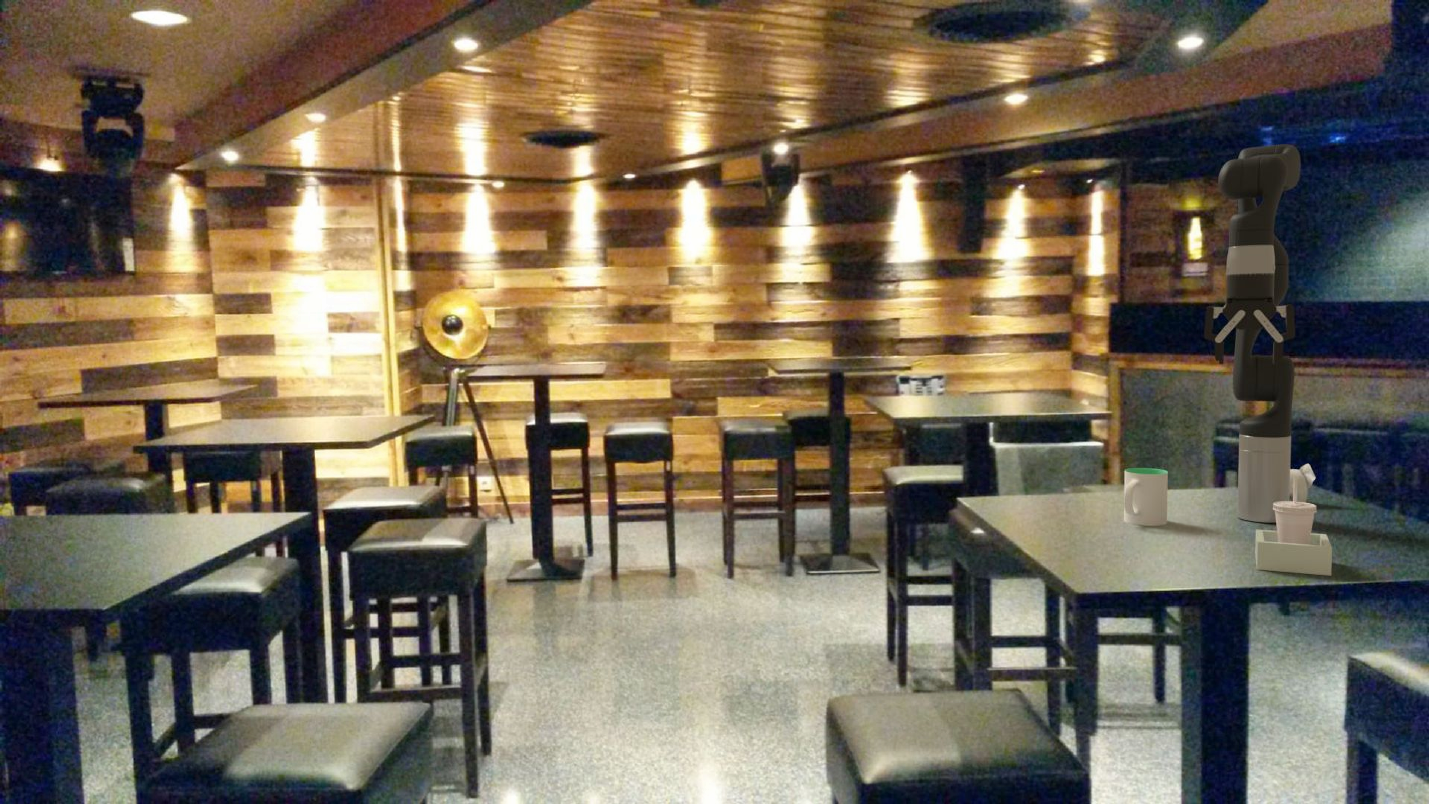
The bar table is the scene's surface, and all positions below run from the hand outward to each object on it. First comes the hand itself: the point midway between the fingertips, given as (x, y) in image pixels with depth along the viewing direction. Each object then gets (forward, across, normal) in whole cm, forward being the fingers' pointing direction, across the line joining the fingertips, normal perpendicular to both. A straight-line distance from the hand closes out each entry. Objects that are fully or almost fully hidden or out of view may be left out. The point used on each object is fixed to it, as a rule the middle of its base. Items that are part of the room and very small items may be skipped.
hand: (1247, 363), depth 180 cm
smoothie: (+33, -7, +12) cm, 36 cm away
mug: (+33, +18, -15) cm, 41 cm away
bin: (+33, -7, +12) cm, 36 cm away
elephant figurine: (+33, -9, -49) cm, 60 cm away
